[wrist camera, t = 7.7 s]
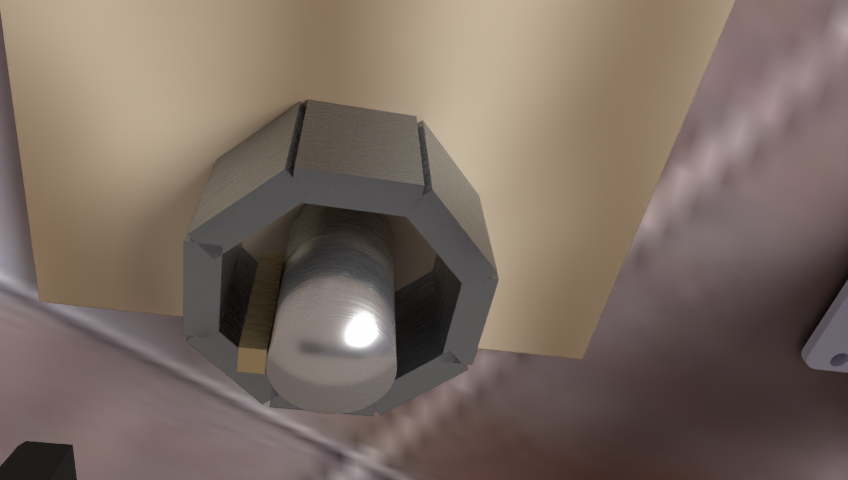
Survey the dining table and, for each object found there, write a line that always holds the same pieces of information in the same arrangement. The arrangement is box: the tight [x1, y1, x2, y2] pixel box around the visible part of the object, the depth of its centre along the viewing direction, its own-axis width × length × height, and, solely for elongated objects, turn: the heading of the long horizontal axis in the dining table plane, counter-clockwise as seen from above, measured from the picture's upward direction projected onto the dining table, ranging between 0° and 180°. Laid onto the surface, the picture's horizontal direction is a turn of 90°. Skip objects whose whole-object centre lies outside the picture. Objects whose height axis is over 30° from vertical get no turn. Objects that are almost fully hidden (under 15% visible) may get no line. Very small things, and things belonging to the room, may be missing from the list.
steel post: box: [237, 203, 397, 414], centre depth 15 cm, size 3×2×4 cm
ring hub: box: [183, 99, 499, 416], centre depth 15 cm, size 6×6×3 cm
